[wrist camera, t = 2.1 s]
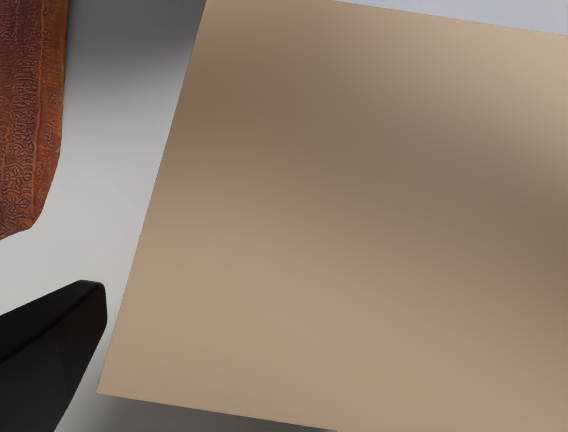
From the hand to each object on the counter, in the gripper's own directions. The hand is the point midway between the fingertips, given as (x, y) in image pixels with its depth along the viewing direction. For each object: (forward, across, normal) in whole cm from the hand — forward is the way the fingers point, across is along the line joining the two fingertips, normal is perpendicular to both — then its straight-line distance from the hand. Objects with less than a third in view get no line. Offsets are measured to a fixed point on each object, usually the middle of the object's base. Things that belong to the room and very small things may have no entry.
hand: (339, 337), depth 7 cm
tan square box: (+8, 0, +5) cm, 10 cm away
